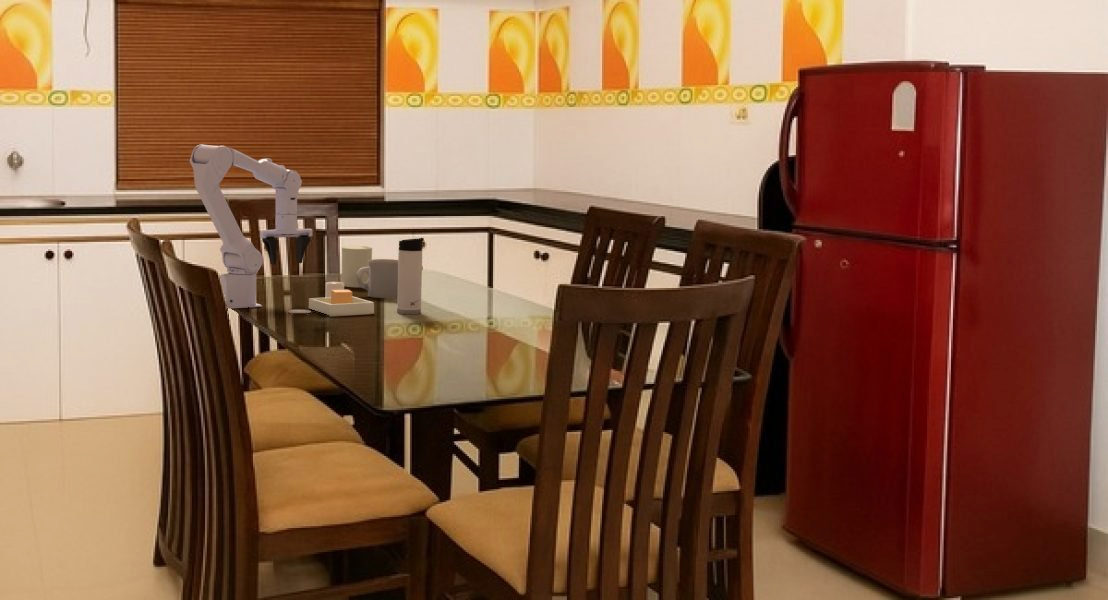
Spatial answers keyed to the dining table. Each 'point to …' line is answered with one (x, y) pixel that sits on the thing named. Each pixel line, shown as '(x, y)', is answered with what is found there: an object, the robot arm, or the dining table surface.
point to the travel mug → (409, 276)
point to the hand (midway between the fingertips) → (286, 263)
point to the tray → (341, 307)
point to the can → (354, 264)
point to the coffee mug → (380, 278)
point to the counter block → (341, 296)
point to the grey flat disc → (299, 311)
